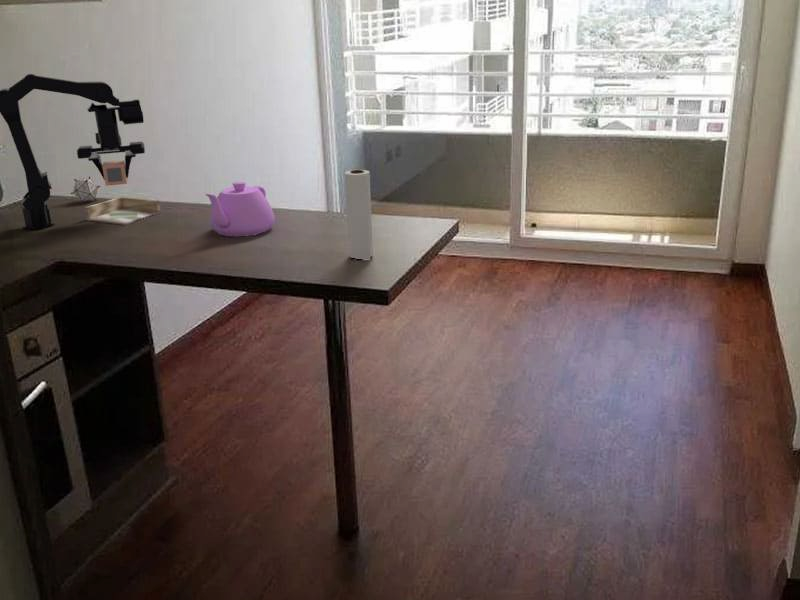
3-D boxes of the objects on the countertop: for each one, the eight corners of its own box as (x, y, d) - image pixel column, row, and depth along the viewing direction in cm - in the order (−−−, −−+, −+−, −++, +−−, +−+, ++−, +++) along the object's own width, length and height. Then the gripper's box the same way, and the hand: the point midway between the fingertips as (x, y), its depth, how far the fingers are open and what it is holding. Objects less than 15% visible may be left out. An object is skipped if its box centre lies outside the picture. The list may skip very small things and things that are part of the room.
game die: (91, 211, 268) (99, 184, 270) (98, 206, 261) (106, 178, 263) (64, 201, 263) (73, 173, 265) (70, 196, 256) (79, 167, 259)
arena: (124, 224, 234) (122, 211, 232) (86, 220, 240) (84, 207, 239) (160, 213, 246) (158, 200, 245) (123, 209, 253) (121, 196, 251)
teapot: (243, 217, 238) (238, 172, 233) (292, 223, 230) (288, 176, 226) (186, 239, 217) (180, 190, 213) (238, 246, 210) (233, 195, 205)
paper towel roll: (351, 253, 201) (346, 168, 193) (374, 253, 200) (371, 168, 192) (346, 261, 194) (341, 174, 186) (370, 262, 193) (367, 174, 186)
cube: (126, 183, 237) (123, 163, 235) (105, 185, 236) (102, 165, 233) (127, 180, 243) (124, 160, 240) (107, 181, 241) (103, 162, 239)
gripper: (141, 120, 243) (149, 171, 248) (76, 125, 238) (85, 176, 244) (140, 125, 233) (148, 177, 238) (72, 130, 228) (82, 183, 234)
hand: (116, 178), depth 239 cm, fingers closed on cube, 6 cm apart
